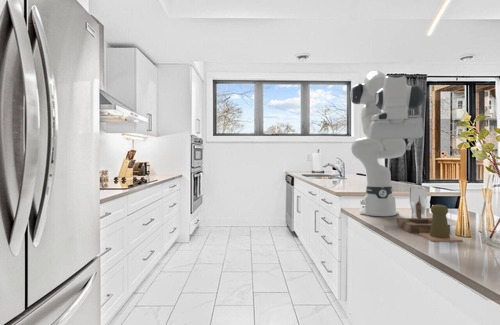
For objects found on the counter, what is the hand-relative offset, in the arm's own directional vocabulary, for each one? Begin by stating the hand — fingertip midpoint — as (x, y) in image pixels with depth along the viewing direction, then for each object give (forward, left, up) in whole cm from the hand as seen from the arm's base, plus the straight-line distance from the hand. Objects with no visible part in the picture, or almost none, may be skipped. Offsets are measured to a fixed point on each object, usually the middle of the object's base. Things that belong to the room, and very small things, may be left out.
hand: (395, 150), depth 127 cm
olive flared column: (+15, +9, -31) cm, 36 cm away
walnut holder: (+1, +9, -32) cm, 33 cm away
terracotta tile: (+15, +9, -32) cm, 36 cm away
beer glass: (-14, +14, -32) cm, 37 cm away
